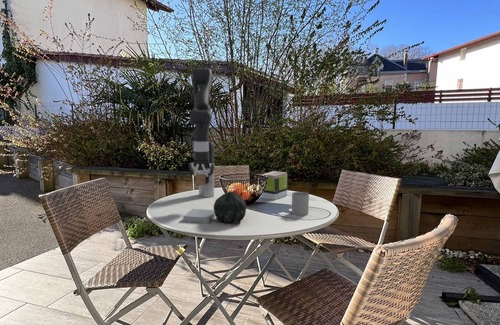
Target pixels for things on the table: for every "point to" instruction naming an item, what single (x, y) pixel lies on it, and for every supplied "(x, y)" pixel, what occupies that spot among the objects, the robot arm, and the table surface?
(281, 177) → the tea box
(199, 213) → the stone coaster
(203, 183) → the walnut cube
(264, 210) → the table surface
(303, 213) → the cup
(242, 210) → the squash
